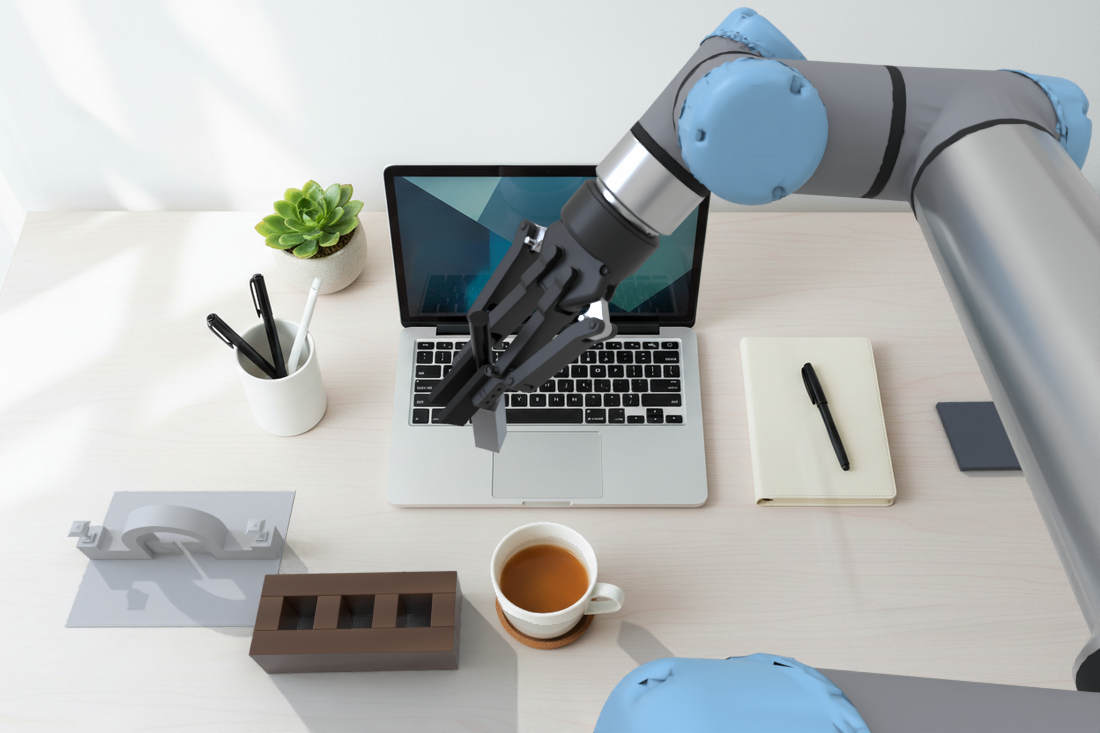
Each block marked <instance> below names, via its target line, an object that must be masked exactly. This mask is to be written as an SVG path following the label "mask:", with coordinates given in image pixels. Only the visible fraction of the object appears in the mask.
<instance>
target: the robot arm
mask: <svg viewBox="0 0 1100 733" xmlns="http://www.w3.org/2000/svg"><path fill="white" fill-rule="evenodd" d="M1089 108H1090V100H1089V99H1088V97H1087V95H1086V93H1085V92H1084V90H1083V89H1082V88H1081V87H1080V86H1079V85H1078V84H1077V83H1075V82H1074V81H1072V80H1070V79H1068V78H1064V77H1060V76H1052V75H1045V74H1039V73H1030V72H1027V71H1025V70H1022V69H1010V68H1001V69H995V70H993V69H970V68H949V67H948V68H947V67H946V68H945V67H927V66H926V67H925V66H904V65H903V66H902V65H887V64H870V63H856V62H839V61H825V60H824V61H823V60H821V61H820V60H808V58H806V56H805V55H804V54H803V53H802V51H801V50H800V49H799V48H798V47H797V46H796V45H795V44H794V43H793V42H792V41H791V40H790V39H789V38H788V37H787V36H786V35H785V34H784V33H783V32H782V31H781V30H780V29H779V28H778V27H777V26H775V24H773V23H772V22H771V21H770V20H768V19H767V18H766V17H765V16H763V15H761V14H759V13H758V12H757V11H756V10H755V9H753V8H751V7H747V6H739V7H737V8H735V9H734V10H732V11H731V12H730V13H729V14H728V15H727V16H726V17H725V18H724V20H722V21H721V22H720V23H719V25H718V26H717V27H716V28H715V29H714V30H713V31H711V33H710V34H706V35H705V36H704V38H702V40H701V42H700V43H699V47H698V48H697V49H696V51H695V52H694V53H693V54H692V56H690V58H689V59H688V60H687V61H686V62H685V64H684V65H683V66H682V67H681V69H680V70H679V71H678V72H677V73H676V75H675V76H674V77H673V78H672V79H671V81H670V82H669V83H668V84H667V86H666V87H665V88H664V89H663V90H662V91H661V93H660V94H659V95H658V96H657V97H656V99H655V100H654V101H653V102H652V103H651V104H650V106H649V107H648V108H647V109H646V110H645V112H644V113H643V114H642V115H641V117H640V118H639V119H638V120H636V122H634V124H633V125H632V126H631V127H630V128H629V129H628V130H627V131H626V133H625V134H624V135H623V136H622V137H621V139H620V140H619V141H618V142H616V144H615V145H614V146H613V148H612V149H611V150H610V151H609V153H607V154H606V156H605V157H604V158H603V159H602V160H601V161H600V162H599V163H598V164H597V166H596V167H595V174H596V177H597V178H595V177H592V178H586V179H585V180H584V181H583V183H582V184H581V185H580V186H579V187H578V188H577V190H576V191H574V193H573V195H571V197H570V198H569V199H568V200H567V202H565V204H564V205H563V206H562V207H561V209H560V219H558V220H557V221H555V222H552V223H551V224H550V225H548V226H547V227H546V226H542V225H539V224H537V223H535V222H533V221H531V220H529V219H527V218H525V219H522V220H521V221H520V222H519V224H518V226H517V229H516V232H515V235H514V238H513V241H512V244H511V245H510V247H509V248H508V250H507V251H506V253H505V255H503V257H502V259H501V260H500V262H499V263H498V265H497V267H496V268H495V269H494V271H493V273H492V274H491V276H490V277H489V279H488V281H487V282H486V283H485V285H484V286H483V288H482V290H481V291H480V293H479V294H478V295H477V297H476V298H475V300H474V302H472V303H473V304H472V305H471V306H470V308H469V309H468V311H467V313H466V320H467V321H468V322H469V316H470V314H471V313H473V312H475V311H484V312H486V313H487V314H488V315H489V320H490V331H491V343H492V349H497V350H503V349H504V346H503V342H504V341H505V340H506V339H507V338H508V337H509V336H510V335H511V334H512V333H513V332H514V331H515V330H516V329H517V328H518V327H520V325H521V324H522V323H523V322H524V321H526V320H527V318H528V317H530V315H531V314H532V315H531V317H530V318H529V319H528V320H527V321H526V323H525V324H524V325H523V327H522V328H521V329H520V331H519V332H517V334H516V336H515V337H514V338H513V339H512V341H511V342H510V343H509V344H508V346H506V348H505V350H504V351H503V352H502V354H501V355H500V356H498V355H497V353H496V351H495V350H492V355H493V366H492V365H488V364H486V365H484V364H483V365H482V367H481V368H480V369H479V370H478V371H477V372H476V373H475V369H474V360H473V352H472V343H471V338H470V339H469V340H468V341H467V342H466V344H464V345H463V346H462V348H461V349H460V350H459V351H458V353H457V354H456V355H455V356H454V357H453V359H452V361H451V366H452V368H451V369H450V370H449V371H448V372H447V373H446V374H445V376H444V377H443V378H442V379H441V380H440V382H438V384H437V385H436V386H435V387H434V388H433V389H432V391H431V392H430V393H429V394H428V395H427V399H428V401H429V403H430V404H434V405H439V406H443V407H444V408H443V409H442V410H441V411H440V412H439V414H438V415H436V418H437V420H438V421H439V423H440V424H445V425H449V426H450V425H451V426H458V427H464V426H465V425H466V424H467V423H468V422H469V421H470V420H472V416H473V415H474V414H475V413H476V412H477V411H478V410H479V409H480V408H481V407H482V408H488V407H490V406H491V405H492V404H493V403H494V402H495V401H496V400H497V398H499V397H500V396H501V395H502V394H503V392H504V393H505V392H506V391H507V390H513V391H518V392H521V393H527V394H532V393H534V392H535V391H537V390H538V389H539V388H540V387H541V386H543V385H544V384H546V383H547V382H548V381H549V380H551V379H552V378H553V377H555V376H556V375H557V374H559V373H560V372H561V371H562V370H563V369H565V368H566V367H567V366H569V364H571V363H573V362H574V361H575V360H576V359H578V358H579V357H580V356H582V355H583V354H584V353H586V352H587V351H588V350H589V349H591V347H593V346H595V345H596V344H597V345H598V344H600V343H604V342H607V341H610V340H613V339H614V338H616V336H617V335H618V330H619V329H618V326H617V325H616V324H615V323H612V322H611V321H610V320H611V319H610V313H609V312H610V311H609V304H610V302H611V301H612V300H613V298H614V297H615V294H616V291H617V290H618V287H619V285H620V284H621V283H622V282H623V281H625V280H626V279H628V278H629V277H631V276H633V275H634V274H635V273H637V272H638V270H640V268H641V267H642V266H643V265H644V264H645V263H646V262H647V261H648V260H649V259H650V258H651V256H653V255H654V253H656V251H657V250H658V249H659V248H660V246H661V245H660V242H661V238H660V235H661V236H664V237H665V236H666V237H667V236H671V235H672V234H673V233H674V232H675V230H677V229H678V227H679V226H681V224H682V223H683V222H684V221H685V220H686V219H687V218H688V216H690V214H691V213H692V212H693V211H694V210H695V209H697V207H698V206H699V205H700V204H701V203H702V202H703V201H704V199H705V198H706V197H708V195H710V193H713V194H714V195H715V196H717V197H718V198H719V199H722V200H724V201H727V202H728V203H729V202H730V203H732V204H737V205H741V206H751V207H752V206H763V205H768V204H772V203H773V202H777V201H780V200H782V199H784V198H786V197H787V196H790V195H806V196H823V197H835V198H837V197H838V198H851V199H865V200H866V199H868V200H878V201H879V200H880V201H894V202H907V203H908V204H909V206H910V209H911V211H912V213H913V215H914V218H915V220H916V222H917V223H918V225H919V228H920V230H921V233H922V235H923V237H924V240H925V242H926V244H927V248H928V249H929V253H930V254H931V257H932V259H933V261H934V264H935V266H936V268H937V272H938V274H939V275H940V279H941V280H942V283H943V285H944V287H945V290H946V292H947V294H948V297H949V299H950V301H951V304H952V306H953V309H954V311H955V314H956V316H957V318H958V321H959V323H960V325H961V328H962V330H963V333H964V335H965V337H966V340H967V342H968V344H969V347H970V350H971V352H972V354H973V357H974V360H975V362H976V364H977V366H978V368H979V371H980V374H981V375H982V378H983V380H984V383H985V385H986V387H987V390H988V393H989V394H990V397H991V399H992V401H993V402H994V404H995V407H996V409H997V411H998V414H999V416H1000V418H1001V421H1002V423H1003V426H1004V428H1005V430H1006V433H1007V435H1008V438H1009V440H1010V442H1011V445H1012V447H1013V449H1014V452H1015V454H1016V457H1017V459H1018V461H1019V464H1020V466H1021V468H1022V470H1021V471H1022V473H1023V475H1024V478H1025V481H1026V482H1027V486H1028V487H1029V489H1030V492H1031V494H1032V497H1033V499H1034V502H1035V504H1036V507H1037V509H1038V511H1039V514H1040V516H1041V519H1042V521H1043V524H1044V526H1045V528H1046V530H1047V532H1048V535H1049V537H1050V541H1051V542H1052V544H1053V548H1054V549H1055V551H1056V552H1055V553H1056V555H1057V556H1058V559H1059V561H1060V564H1061V566H1062V568H1063V571H1064V573H1065V575H1066V578H1067V581H1068V583H1069V585H1070V588H1071V590H1072V593H1073V595H1074V597H1075V600H1076V602H1077V604H1078V607H1079V610H1080V612H1081V614H1082V616H1083V619H1084V621H1085V623H1086V626H1087V628H1088V630H1089V633H1090V637H1089V638H1088V640H1087V641H1086V643H1085V644H1084V645H1083V647H1082V648H1081V650H1080V651H1079V653H1078V654H1077V655H1076V658H1075V660H1074V662H1073V665H1072V667H1071V668H1072V671H1071V672H1072V673H1071V675H1072V680H1073V683H1074V685H1075V689H1076V690H1072V689H1061V688H1049V687H1037V686H1026V685H1017V684H1015V685H1014V684H1003V683H992V682H981V681H970V680H959V679H947V678H937V677H936V678H934V677H924V676H913V675H901V674H892V673H880V672H868V671H857V670H856V671H855V670H844V669H833V668H823V667H812V666H811V665H807V664H805V663H803V662H800V661H798V660H797V659H796V658H794V657H790V656H784V655H778V654H772V653H766V652H756V653H755V652H754V653H752V654H747V655H742V656H741V655H739V656H728V657H727V658H725V659H721V658H701V657H679V656H678V657H677V656H671V657H669V656H668V657H662V658H656V659H653V660H650V661H647V662H644V663H643V664H641V665H638V666H636V667H635V668H633V669H632V670H630V672H628V673H627V674H625V676H623V677H622V678H621V679H620V681H619V682H618V683H617V684H616V685H615V686H614V687H613V689H612V690H611V692H610V693H609V695H608V697H607V699H606V700H605V702H604V704H603V706H602V708H601V711H600V712H599V716H598V718H597V720H596V724H595V727H594V728H593V732H592V733H1100V195H1099V194H1098V192H1097V191H1096V189H1095V188H1094V186H1092V184H1091V183H1090V181H1089V180H1088V179H1087V178H1086V176H1085V175H1084V173H1083V172H1082V170H1083V167H1084V165H1085V163H1086V160H1087V156H1088V155H1089V154H1088V153H1089V150H1090V146H1091V140H1092V135H1093V122H1092V119H1090V118H1089V117H1088V111H1089ZM587 309H588V310H587ZM486 310H487V311H486ZM583 310H587V311H586V312H585V313H584V314H579V313H581V311H583ZM578 314H579V315H578ZM576 317H577V321H576V322H574V323H573V324H571V325H569V326H568V327H566V328H565V329H564V330H562V328H563V327H565V325H568V324H570V323H572V322H573V321H574V320H575V319H576ZM561 330H562V331H561ZM560 331H561V332H560ZM558 333H559V334H558Z"/></svg>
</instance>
